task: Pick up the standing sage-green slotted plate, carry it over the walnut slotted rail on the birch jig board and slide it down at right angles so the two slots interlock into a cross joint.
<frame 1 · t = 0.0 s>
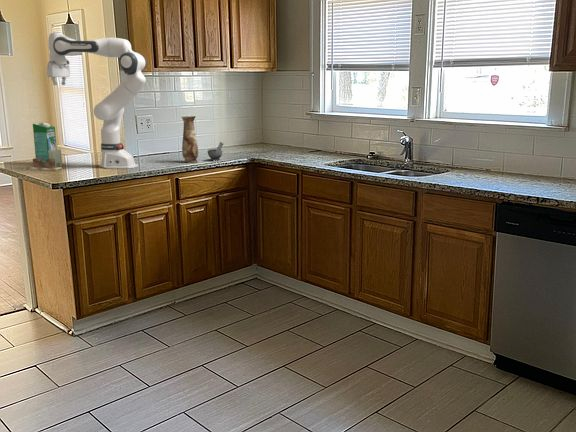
hand: (59, 85, 342), 48 cm above the counter, fingers open, 8 cm apart
mortar and pestle: (216, 160, 381), on the counter
milk carton: (47, 164, 355), on the counter
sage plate: (56, 166, 343), on the counter
jig: (44, 169, 335), on the counter
vase: (190, 162, 371), on the counter
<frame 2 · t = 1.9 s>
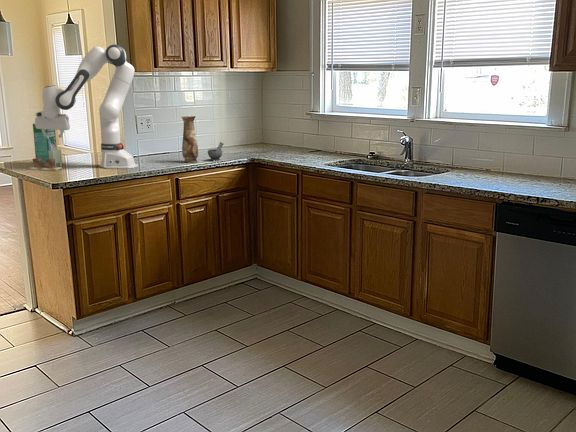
hand: (53, 137, 339), 18 cm above the counter, fingers open, 8 cm apart
nothing on the counter moved.
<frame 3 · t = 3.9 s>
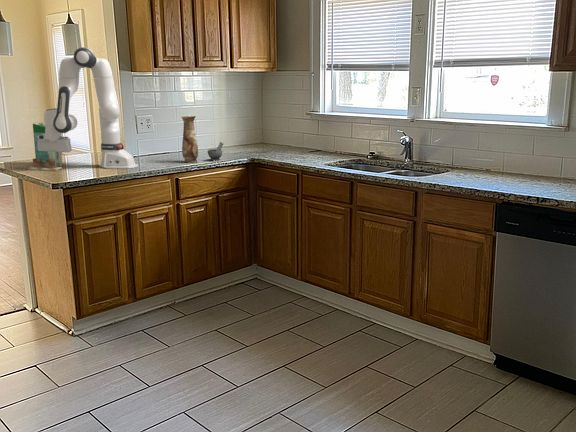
hand: (55, 159, 342), 5 cm above the counter, fingers closed on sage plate, 3 cm apart
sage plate: (56, 166, 343), on the counter, touching gripper
everything else where it was.
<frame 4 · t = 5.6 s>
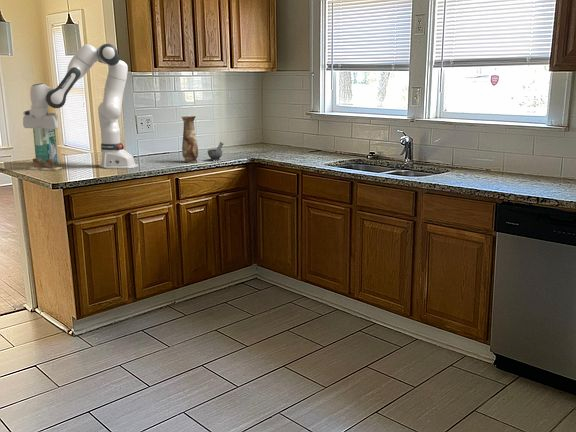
hand: (41, 136, 330), 19 cm above the counter, fingers closed on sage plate, 3 cm apart
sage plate: (42, 144, 332), point 14 cm above the counter, touching gripper
everything else where it was.
when the fingers open (8 cm above the counter, at t = 7.6 s): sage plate drops 2 cm, resting on jig.
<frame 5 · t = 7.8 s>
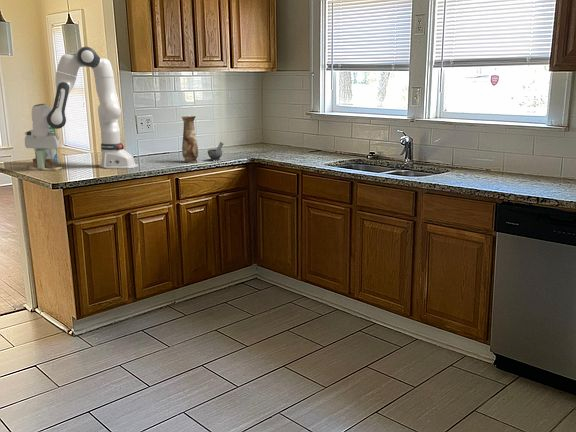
hand: (43, 156, 333), 8 cm above the counter, fingers open, 5 cm apart
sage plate: (44, 167, 334), point 1 cm above the counter, touching jig
everything else where it was.
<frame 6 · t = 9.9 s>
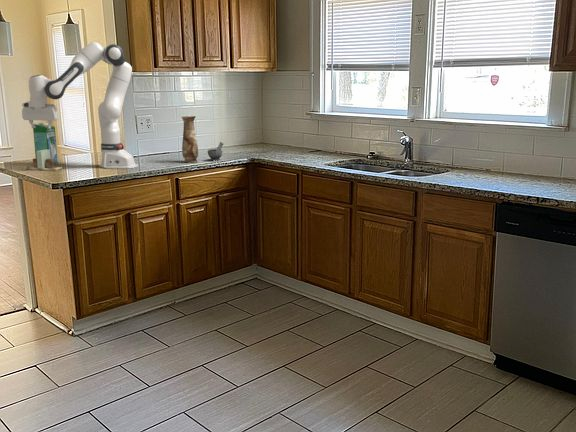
hand: (41, 128, 329), 24 cm above the counter, fingers open, 8 cm apart
nothing on the counter moved.
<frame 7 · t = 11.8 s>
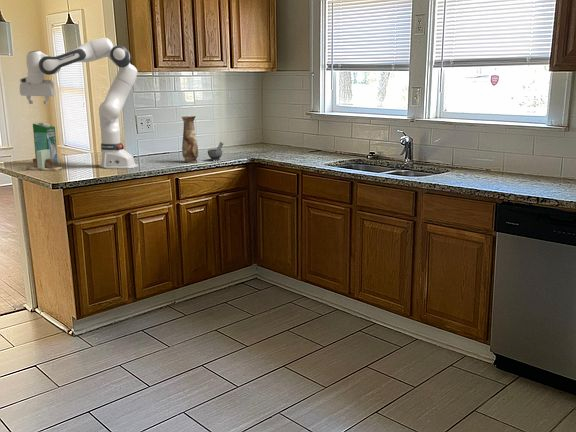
hand: (38, 104, 334), 37 cm above the counter, fingers open, 8 cm apart
nothing on the counter moved.
at the end: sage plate 0.0 cm off-centre on the jig, point 1.0 cm above the jig's base; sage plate tilted 0°; the gripper is holding nothing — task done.
